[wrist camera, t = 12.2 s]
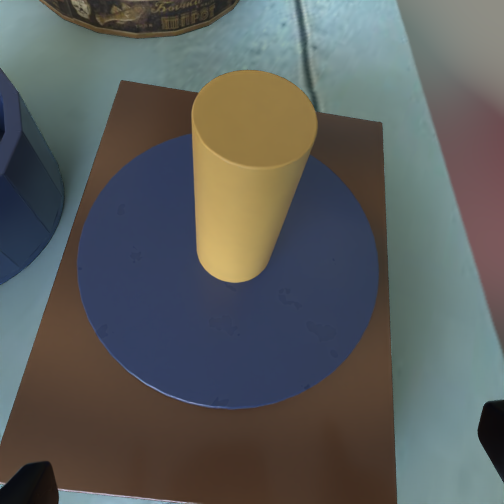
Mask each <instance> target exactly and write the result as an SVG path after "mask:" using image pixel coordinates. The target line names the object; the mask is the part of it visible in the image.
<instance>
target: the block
mask: <svg viewBox="0 0 504 504" xmlns="http://www.w3.org/2000/svg"><path fill="white" fill-rule="evenodd" d="M197 95H198V93H197V92H191V91H185V90H179V89H173V88H167V87H161V86H154V85H148V84H142V83H136V82H130V81H124V80H121V81H120V84H119V88H118V91H117V94H116V97H115V100H114V103H113V106H112V109H111V112H110V115H109V118H108V121H107V124H106V127H105V130H104V133H103V136H102V139H101V142H100V145H99V148H98V151H97V154H96V157H95V160H94V163H93V166H92V169H91V172H90V175H89V178H88V181H87V184H86V187H85V190H84V193H83V196H82V199H81V202H80V205H79V208H78V211H77V214H76V217H75V220H74V223H73V226H72V229H71V232H70V235H69V238H68V241H67V244H66V247H65V250H64V253H63V257H62V260H61V263H60V266H59V269H58V272H57V275H56V278H55V281H54V284H53V287H52V290H51V293H50V296H49V299H48V302H47V305H46V308H45V311H44V314H43V317H42V320H41V323H40V326H39V329H38V332H37V335H36V338H35V341H34V344H33V347H32V350H31V353H30V356H29V359H28V362H27V365H26V368H25V371H24V374H23V377H22V380H21V383H20V386H19V389H18V392H17V395H16V398H15V401H14V404H13V407H12V410H11V413H10V416H9V419H8V422H7V425H6V429H5V432H4V435H3V438H2V441H1V444H0V484H3V485H5V484H6V483H7V482H8V481H9V480H10V479H11V478H12V477H13V476H14V475H15V473H16V472H17V471H18V470H19V469H20V468H21V467H22V466H24V465H25V464H27V463H30V462H38V461H45V460H46V461H49V462H50V463H51V464H52V467H53V471H54V475H55V479H56V483H57V487H58V490H59V491H69V492H78V493H88V494H97V495H107V496H116V497H126V498H135V499H144V500H154V501H163V502H173V503H182V504H397V486H396V460H395V434H394V409H393V383H392V357H391V332H390V306H389V280H388V255H387V229H386V203H385V177H384V152H383V126H382V123H381V122H376V121H370V120H363V119H357V118H351V117H345V116H339V115H333V114H327V113H320V112H316V115H317V121H318V130H317V135H316V138H315V141H314V144H313V147H312V149H311V152H310V155H312V156H314V157H315V158H317V159H318V160H319V161H321V162H322V163H323V164H325V165H326V166H327V167H328V168H330V169H331V170H332V171H333V172H334V173H335V174H336V175H337V176H338V177H339V178H340V179H341V180H342V181H343V182H344V183H345V185H346V186H347V187H348V188H349V189H350V190H351V192H352V193H353V195H354V196H355V198H356V199H357V201H358V202H359V204H360V205H361V207H362V209H363V211H364V213H365V215H366V217H367V219H368V221H369V224H370V227H371V229H372V232H373V235H374V239H375V243H376V248H377V252H378V263H379V283H378V292H377V297H376V302H375V307H374V310H373V313H372V316H371V318H370V321H369V324H368V326H367V328H366V330H365V332H364V334H363V336H362V337H361V339H360V341H359V343H358V344H357V345H356V347H355V348H354V350H353V351H352V352H351V354H350V355H349V356H348V358H347V359H346V360H345V361H344V362H343V363H342V364H341V365H340V366H339V367H338V368H337V369H336V370H335V371H334V372H333V373H331V374H330V375H329V376H327V377H326V378H325V379H323V380H322V381H321V382H319V383H318V384H316V385H315V386H313V387H311V388H309V389H307V390H306V391H304V392H302V393H300V394H298V395H296V396H293V397H290V398H288V399H285V400H282V401H280V402H277V403H274V404H269V405H265V406H260V407H256V408H245V409H217V408H207V407H202V406H197V405H192V404H188V403H185V402H182V401H179V400H176V399H174V398H171V397H168V396H166V395H164V394H162V393H160V392H158V391H156V390H154V389H153V388H151V387H149V386H147V385H145V384H144V383H143V382H141V381H140V380H139V379H137V378H136V377H135V376H133V375H132V374H130V373H129V372H128V371H127V370H126V369H125V368H124V367H123V366H122V365H121V364H119V363H118V362H117V361H116V360H115V359H114V358H113V357H112V356H111V354H110V353H109V352H108V350H107V349H106V348H105V346H104V345H103V344H102V342H101V341H100V340H99V338H98V337H97V335H96V333H95V331H94V329H93V327H92V326H91V324H90V322H89V320H88V317H87V314H86V312H85V309H84V306H83V303H82V300H81V295H80V290H79V285H78V275H77V257H78V247H79V241H80V237H81V233H82V229H83V226H84V223H85V221H86V218H87V216H88V213H89V211H90V209H91V207H92V205H93V203H94V202H95V200H96V198H97V197H98V195H99V193H100V192H101V191H102V189H103V188H104V187H105V185H106V184H107V183H108V182H109V180H110V179H111V178H112V177H113V176H114V175H115V174H116V173H117V172H118V171H119V170H120V169H121V168H122V167H123V166H125V165H126V164H127V163H129V162H130V161H131V160H132V159H134V158H135V157H136V156H138V155H140V154H141V153H143V152H145V151H146V150H148V149H150V148H151V147H153V146H156V145H158V144H160V143H163V142H165V141H167V140H170V139H173V138H176V137H179V136H183V135H187V134H192V119H191V112H192V106H193V103H194V100H195V98H196V96H197Z"/></svg>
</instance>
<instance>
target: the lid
mask: <svg viewBox="0 0 504 504" xmlns="http://www.w3.org/2000/svg"><path fill="white" fill-rule="evenodd" d="M191 119H192V134H187V135H183V136H179V137H176V138H173V139H170V140H167V141H165V142H163V143H160V144H158V145H156V146H153V147H151V148H150V149H148V150H146V151H145V152H143V153H141V154H140V155H138V156H136V157H135V158H134V159H132V160H131V161H130V162H129V163H127V164H126V165H125V166H123V167H122V168H121V169H120V170H119V171H118V172H117V173H116V174H115V175H114V176H113V177H112V178H111V179H110V180H109V182H108V183H107V184H106V185H105V187H104V188H103V189H102V191H101V192H100V193H99V195H98V197H97V198H96V200H95V202H94V203H93V205H92V207H91V209H90V211H89V213H88V216H87V218H86V221H85V223H84V226H83V229H82V233H81V237H80V241H79V247H78V257H77V275H78V285H79V290H80V295H81V300H82V303H83V306H84V309H85V312H86V314H87V317H88V320H89V322H90V324H91V326H92V327H93V329H94V331H95V333H96V335H97V337H98V338H99V340H100V341H101V342H102V344H103V345H104V346H105V348H106V349H107V350H108V352H109V353H110V354H111V356H112V357H113V358H114V359H115V360H116V361H117V362H118V363H119V364H121V365H122V366H123V367H124V368H125V369H126V370H127V371H128V372H129V373H130V374H132V375H133V376H135V377H136V378H137V379H139V380H140V381H141V382H143V383H144V384H145V385H147V386H149V387H151V388H153V389H154V390H156V391H158V392H160V393H162V394H164V395H166V396H168V397H171V398H174V399H176V400H179V401H182V402H185V403H188V404H192V405H197V406H202V407H207V408H217V409H245V408H256V407H260V406H265V405H269V404H274V403H277V402H280V401H282V400H285V399H288V398H290V397H293V396H296V395H298V394H300V393H302V392H304V391H306V390H307V389H309V388H311V387H313V386H315V385H316V384H318V383H319V382H321V381H322V380H323V379H325V378H326V377H327V376H329V375H330V374H331V373H333V372H334V371H335V370H336V369H337V368H338V367H339V366H340V365H341V364H342V363H343V362H344V361H345V360H346V359H347V358H348V356H349V355H350V354H351V352H352V351H353V350H354V348H355V347H356V345H357V344H358V343H359V341H360V339H361V337H362V336H363V334H364V332H365V330H366V328H367V326H368V324H369V321H370V318H371V316H372V313H373V310H374V307H375V302H376V297H377V292H378V283H379V263H378V252H377V248H376V243H375V239H374V235H373V232H372V229H371V227H370V224H369V221H368V219H367V217H366V215H365V213H364V211H363V209H362V207H361V205H360V204H359V202H358V201H357V199H356V198H355V196H354V195H353V193H352V192H351V190H350V189H349V188H348V187H347V186H346V185H345V183H344V182H343V181H342V180H341V179H340V178H339V177H338V176H337V175H336V174H335V173H334V172H333V171H332V170H331V169H330V168H328V167H327V166H326V165H325V164H323V163H322V162H321V161H319V160H318V159H317V158H315V157H314V156H312V155H310V152H311V149H312V147H313V144H314V141H315V138H316V135H317V130H318V121H317V115H316V112H315V109H314V107H313V105H312V103H311V101H310V100H309V98H308V97H307V96H306V94H305V93H304V92H303V91H302V90H301V89H300V88H298V87H297V86H296V85H295V84H293V83H292V82H290V81H288V80H287V79H285V78H283V77H280V76H278V75H275V74H272V73H269V72H264V71H258V70H239V71H233V72H229V73H225V74H223V75H220V76H218V77H216V78H214V79H213V80H211V81H210V82H208V83H207V84H206V85H205V86H204V87H203V88H202V89H201V90H200V92H199V93H198V95H197V96H196V98H195V100H194V103H193V106H192V112H191Z"/></svg>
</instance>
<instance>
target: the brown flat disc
mask: <svg viewBox="0 0 504 504" xmlns="http://www.w3.org/2000/svg"><path fill="white" fill-rule="evenodd" d="M39 1H41V2H42V3H43V4H45V5H46V6H47V7H48V8H50V9H51V10H52V11H54V12H55V13H56V14H58V15H59V16H60V17H61V18H63V19H64V20H67V21H69V22H72V23H75V24H77V25H80V26H82V27H85V28H87V29H90V30H92V31H95V32H97V33H103V34H110V35H117V36H124V37H130V38H137V39H138V38H152V37H166V36H177V35H180V34H183V33H186V32H190V31H193V30H196V29H199V28H202V27H205V26H209V25H210V24H212V23H213V22H215V21H216V20H218V19H219V18H221V17H222V16H224V15H225V14H227V13H228V12H230V11H231V10H233V9H234V7H235V6H236V4H237V3H238V1H239V0H39Z"/></svg>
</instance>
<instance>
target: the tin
mask: <svg viewBox="0 0 504 504" xmlns="http://www.w3.org/2000/svg"><path fill="white" fill-rule="evenodd" d="M63 202H64V186H63V182H62V177H61V174H60V172H59V166H58V163H57V162H56V160H55V158H54V156H53V154H52V152H51V151H50V149H49V147H48V145H47V143H46V141H45V140H44V138H43V136H42V134H41V132H40V130H39V129H38V127H37V125H36V123H35V121H34V119H33V118H32V116H31V114H30V112H29V110H28V108H27V107H26V105H25V103H24V101H23V99H22V97H21V96H20V94H19V92H18V91H17V89H16V88H15V87H14V85H13V84H12V83H11V81H10V80H9V79H8V77H7V76H6V75H5V73H4V72H3V71H2V69H1V68H0V285H1V284H3V283H5V282H6V281H8V280H9V279H11V278H12V277H14V276H15V275H17V274H18V273H19V272H21V271H22V270H23V269H24V268H26V267H27V266H28V265H29V264H30V263H31V262H32V261H33V260H34V259H35V258H36V257H37V256H38V255H39V254H40V253H41V251H42V250H43V249H44V248H45V246H46V245H47V244H48V242H49V240H50V239H51V237H52V235H53V234H54V232H55V230H56V228H57V225H58V223H59V221H60V217H61V213H62V210H63Z"/></svg>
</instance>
